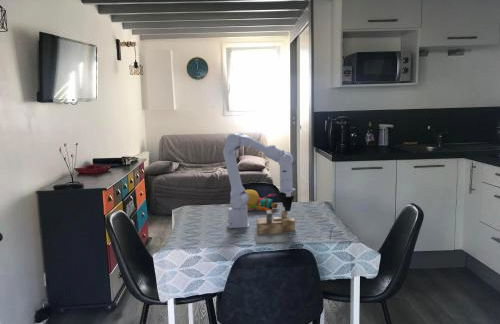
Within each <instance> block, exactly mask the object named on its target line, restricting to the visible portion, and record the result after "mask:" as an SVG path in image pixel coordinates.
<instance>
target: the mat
mask: <svg viewBox="0 0 500 324" xmlns="http://www.w3.org/2000/svg"><path fill="white" fill-rule="evenodd" d="M254 238H255V244H258V245H260V244H261V245H262V244H263V243H264V244H284V243H285V244H286V243H290V242H291V241H290V238H289V236H288V233H286V232H283V233H271V234H258V233H256V234H255V233H254Z"/></svg>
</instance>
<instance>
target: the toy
mask: <svg viewBox="0 0 500 324" xmlns="http://www.w3.org/2000/svg"><path fill="white" fill-rule="evenodd" d="M245 191H246V193H247V194H248V196H249V201H248V203H247V207H248V212H252V211H254V210H256V209H257V210H258V211H264V212H266V210H271V209H272V210H271V212H275V210H277V208H278V205H279V204H278V203H276V202H275V200H274V199H272V198H270V196H271V197H275V196H276V194H273V193H270V194H268V195H267V196H265V197H260V196H259V193H258V191H257V190H254V189H245ZM273 208H274V209H275V210H274V209H273Z"/></svg>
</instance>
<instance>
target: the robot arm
mask: <svg viewBox="0 0 500 324" xmlns="http://www.w3.org/2000/svg"><path fill="white" fill-rule="evenodd" d="M224 143H225V144H224V147H223V151H222V154H223V159H224V163H225V167H226V170H227V175H228V179H229V184H230V188H231V189H230V193H229V194H230V201H229V204H230V205H231V207H228V209H227V210H228V219H227V223H228V228H229V229H235V228H236V229H237V228H239V229H240V228H242V229H243V228H250V224H249V217H248V216H249V215H248V214H249V213H248V212H249V211H248V207H247V203H248V201H249V196H248V194H247V193H246V191H245V190H246V188H245V187H244V185H243V181H242V178H241V175H240V174H241V173H240V170H239V167H238V162H237V157H236V153H237V152H238V150H239V149H240V148H241V147H247V146H249V147H251V148H253V149H255V150H257V151H259V152H262V153H263V155H264V157H266V158H268V159H270V160H271V161H274V162H276V163H278V165H279V192H278V193H279V196H280V199H281V202H282V203H281V204H282V207H283V208H284V210H285V211H287V212H291V209H292V208H291V207H292V204H293V200H294V199H295V196H294V195H292V193H293V192H295V191H296V188H293V183H294V182H293V162H294V156H293V154H291V153H290V151H289V152H287V151H285V150H284V149H283V150H282V149H280V148H277V146H276V145H274V144H272V145H271V144H270V145H265V144H264V143H262V142H260V141H258V140H257V139H254V138H253V137H251V136H250V135H248V134H244V133H243V132H237V133H231V134H229V135H228V136H227V137H226V138H225V140H224Z"/></svg>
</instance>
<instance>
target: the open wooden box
mask: <svg viewBox="0 0 500 324" xmlns="http://www.w3.org/2000/svg"><path fill="white" fill-rule="evenodd" d="M256 231H257V234H275V233H284V232H295V231H296V220H295V218H292V217H291V218H290V217H289V220H282V224H279V225H258V224H257V223H256Z"/></svg>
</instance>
